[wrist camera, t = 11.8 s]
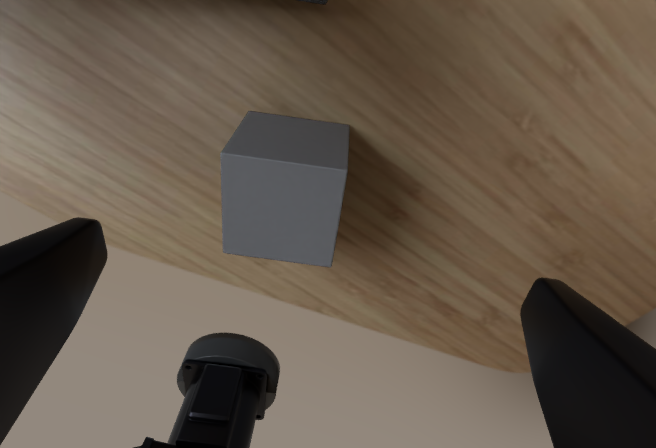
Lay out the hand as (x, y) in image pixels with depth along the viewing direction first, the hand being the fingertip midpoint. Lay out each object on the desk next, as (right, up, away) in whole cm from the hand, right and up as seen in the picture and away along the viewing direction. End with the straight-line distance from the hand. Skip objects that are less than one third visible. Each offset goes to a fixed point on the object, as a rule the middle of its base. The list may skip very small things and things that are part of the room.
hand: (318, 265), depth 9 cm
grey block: (-2, +4, +13) cm, 14 cm away
